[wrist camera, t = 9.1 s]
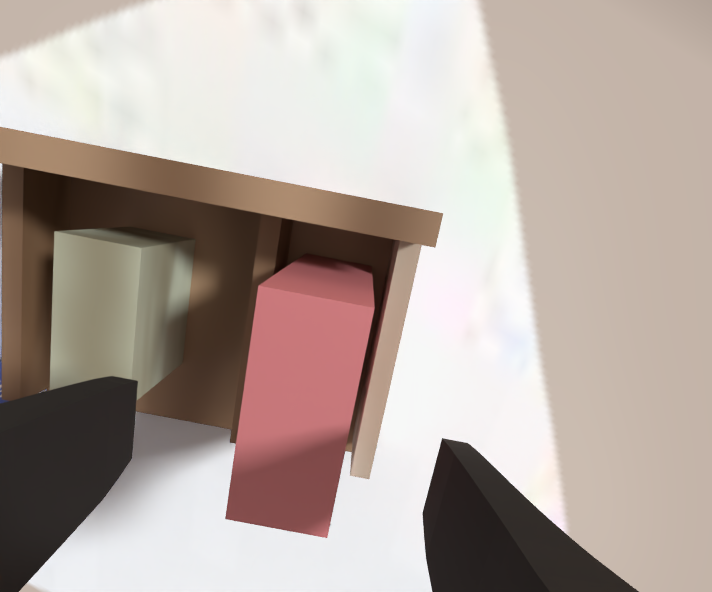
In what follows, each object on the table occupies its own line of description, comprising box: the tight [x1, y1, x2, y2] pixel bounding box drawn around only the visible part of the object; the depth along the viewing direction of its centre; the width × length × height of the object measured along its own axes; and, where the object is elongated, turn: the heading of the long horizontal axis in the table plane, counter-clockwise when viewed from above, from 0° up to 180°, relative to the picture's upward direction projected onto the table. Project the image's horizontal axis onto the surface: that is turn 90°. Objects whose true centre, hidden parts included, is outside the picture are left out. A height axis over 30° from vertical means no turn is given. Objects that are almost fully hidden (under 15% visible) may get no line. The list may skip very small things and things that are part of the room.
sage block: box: [50, 226, 196, 400], centre depth 16 cm, size 3×6×4 cm, turn 169°
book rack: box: [0, 127, 443, 479], centre depth 16 cm, size 16×12×7 cm
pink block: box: [225, 253, 375, 538], centre depth 15 cm, size 3×7×8 cm, turn 169°
